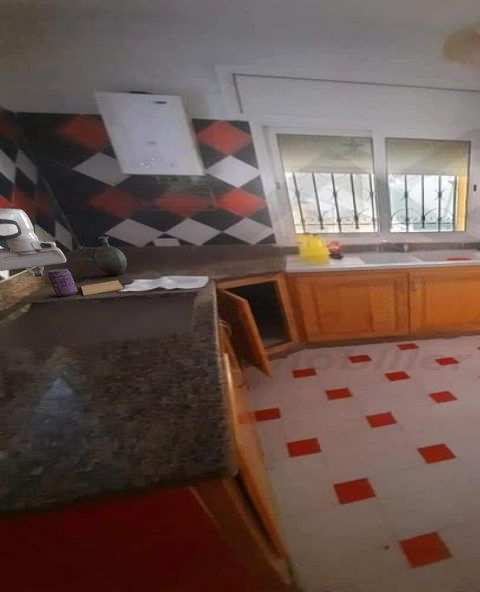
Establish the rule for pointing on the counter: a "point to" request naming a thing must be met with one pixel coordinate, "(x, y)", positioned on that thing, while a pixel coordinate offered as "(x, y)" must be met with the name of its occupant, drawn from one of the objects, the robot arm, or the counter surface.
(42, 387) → the counter surface
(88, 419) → the counter surface
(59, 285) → the beverage can
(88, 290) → the mat
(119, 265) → the flask
